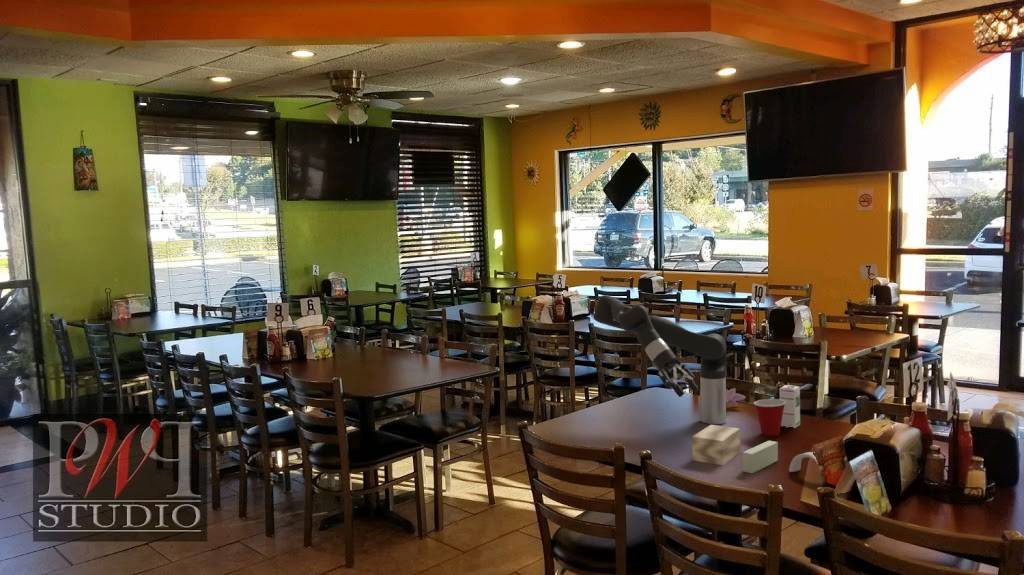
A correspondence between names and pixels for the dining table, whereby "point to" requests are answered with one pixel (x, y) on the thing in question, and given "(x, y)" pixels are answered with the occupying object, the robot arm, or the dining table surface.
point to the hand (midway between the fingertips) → (689, 393)
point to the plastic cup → (770, 415)
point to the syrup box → (790, 405)
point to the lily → (732, 397)
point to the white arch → (797, 460)
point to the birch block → (716, 444)
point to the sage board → (760, 456)
